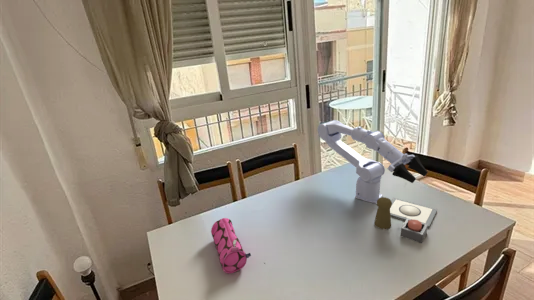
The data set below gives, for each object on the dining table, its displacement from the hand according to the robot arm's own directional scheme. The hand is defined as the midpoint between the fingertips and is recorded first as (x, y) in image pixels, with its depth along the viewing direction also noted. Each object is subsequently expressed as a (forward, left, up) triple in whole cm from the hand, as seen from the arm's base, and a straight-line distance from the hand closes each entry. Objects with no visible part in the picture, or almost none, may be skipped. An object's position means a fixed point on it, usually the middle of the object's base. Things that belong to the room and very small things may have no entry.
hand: (420, 177), depth 112 cm
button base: (+2, -10, -18) cm, 20 cm away
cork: (-9, -10, -18) cm, 22 cm away
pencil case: (-47, -54, -18) cm, 74 cm away
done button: (+2, -10, -15) cm, 19 cm away
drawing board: (-3, +3, -18) cm, 18 cm away
